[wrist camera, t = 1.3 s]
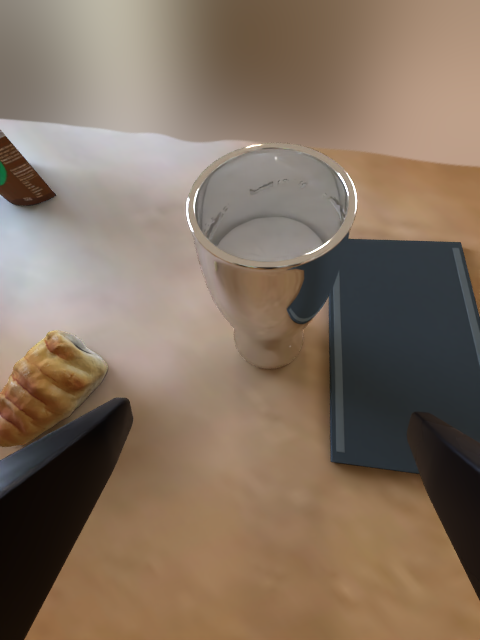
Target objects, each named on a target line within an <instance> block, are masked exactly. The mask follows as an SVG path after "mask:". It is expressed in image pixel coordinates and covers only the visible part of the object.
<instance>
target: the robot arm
mask: <svg viewBox="0 0 480 640" xmlns="http://www.w3.org/2000/svg"><path fill="white" fill-rule="evenodd" d="M132 423H133V415H132V410H131V406H130V401H129V399H127V398H114V399H112V400H110V401H108V402H107V403H105V404H103V405H101V406H99V407H97V408H96V409H94V410H92V411H90V412H88V413H86V414H85V415H83V416H81V417H79V418H77V419H75V420H73V421H72V422H70V423H68V424H66V425H64V426H62V427H61V428H59V429H57V430H55V431H53V432H51V433H50V434H48V435H46V436H44V437H42V438H40V439H39V440H37V441H35V442H33V443H31V444H29V445H27V446H26V447H24V448H22V449H20V450H18V451H16V452H15V453H13V454H11V455H9V456H7V457H5V458H4V459H2V460H0V640H24V639H25V637H26V635H27V633H28V631H29V629H30V628H31V626H32V624H33V622H34V620H35V618H36V616H37V614H38V612H39V610H40V609H41V607H42V605H43V603H44V601H45V599H46V597H47V595H48V593H49V591H50V590H51V588H52V586H53V584H54V582H55V580H56V578H57V576H58V574H59V572H60V571H61V569H62V567H63V565H64V563H65V561H66V559H67V557H68V555H69V553H70V552H71V550H72V548H73V546H74V544H75V542H76V540H77V538H78V536H79V535H80V533H81V531H82V529H83V527H84V525H85V523H86V521H87V519H88V517H89V516H90V514H91V512H92V510H93V508H94V506H95V504H96V502H97V500H98V498H99V497H100V495H101V493H102V491H103V489H104V487H105V485H106V483H107V481H108V479H109V478H110V476H111V474H112V472H113V470H114V468H115V465H116V463H117V461H118V458H119V456H120V453H121V451H122V448H123V446H124V444H125V441H126V439H127V436H128V434H129V431H130V429H131V426H132ZM407 441H408V444H409V446H410V449H411V452H412V454H413V457H414V460H415V462H416V465H417V468H418V470H419V473H420V476H421V478H422V481H423V484H424V486H425V489H426V491H427V494H428V496H429V498H430V500H431V502H432V504H433V506H434V508H435V510H436V512H437V514H438V516H439V518H440V521H441V523H442V525H443V527H444V529H445V531H446V533H447V535H448V537H449V539H450V541H451V543H452V545H453V547H454V549H455V551H456V553H457V555H458V557H459V559H460V561H461V563H462V565H463V568H464V570H465V572H466V574H467V576H468V578H469V580H470V582H471V584H472V586H473V588H474V590H475V592H476V594H477V596H478V598H479V600H480V443H479V442H477V441H475V440H474V439H472V438H470V437H469V436H467V435H465V434H464V433H462V432H460V431H459V430H457V429H455V428H454V427H452V426H450V425H449V424H447V423H445V422H444V421H442V420H441V419H439V418H437V417H436V416H434V415H432V414H431V413H428V412H413V413H412V414H411V417H410V421H409V425H408V429H407Z"/></svg>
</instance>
